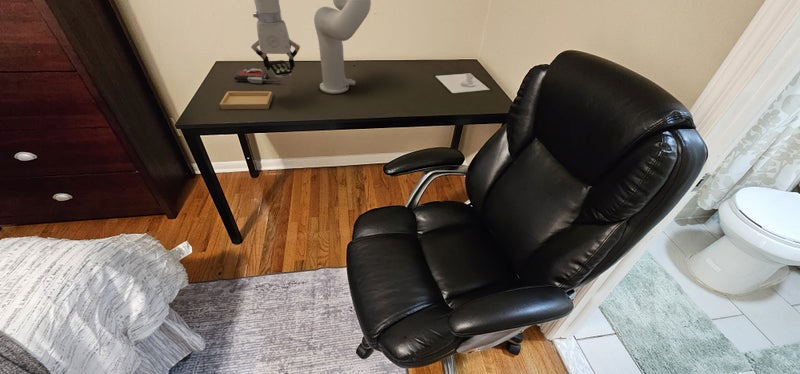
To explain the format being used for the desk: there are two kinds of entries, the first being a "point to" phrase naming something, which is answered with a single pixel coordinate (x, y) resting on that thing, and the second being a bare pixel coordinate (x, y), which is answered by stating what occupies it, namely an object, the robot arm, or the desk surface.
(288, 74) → the remote control
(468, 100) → the desk surface
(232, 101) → the tray
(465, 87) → the teacup and saucer
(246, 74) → the walkie-talkie
